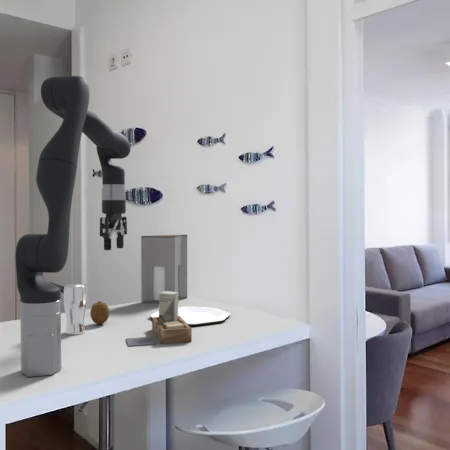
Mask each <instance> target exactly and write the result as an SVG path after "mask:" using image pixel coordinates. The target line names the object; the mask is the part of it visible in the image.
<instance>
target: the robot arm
mask: <svg viewBox="0 0 450 450" xmlns="http://www.w3.org/2000/svg"><path fill="white" fill-rule="evenodd" d="M88 83H89V82H87V79H86V78H84V77H83V76H80V75H62V76H52V77H48V78H46V79H44V81H43V82H42V83H41V86H40V95H41V96H40V97H41V99H42V102H43V105H44V106H45V107H46V109H47V110H49V111H50V112H51V113H53V114H54V115H56V116H58V117H59V118H61V119H62V123H61V125H59V128H58V130H57V131H55V133H54V134H53V136H52V137H51V139H49V141H48V142H47V144H46V145H45V146H44V148H42V151H41V152H40V154H39V158H38V164H37V170H36V176H35V181H36V186H37V189H38V192H39V193H40V196H41V197H42V198H41V199H42V200H43V202H44V205H45V207H46V211H47V215H48V227H47V233H41V234H40V233H29V234H25V235H23V236H21V237H20V238H19V239H18V241H17V244H16V247H15V253H14V254H15V255H14V257H15V270H16V271H15V272H16V287H17V291H18V295H19V298H20V299H19V300H20V301H19V302H20V304H19V305H20V317H19V318H20V373H21V374H22V375H24V376H25V377H26V378H29V377H40V376H41V377H42V376H51V375H52V376H53V375H55V374H56V373H57V372H59V371H61V369H62V316H61V315H62V300H61V299H62V298H61V297H62V295H61V294H62V293H61V292H62V291H61V288H60V287H59V286H57V285H55V284H54V283H52V282H50V281H48V280H47V279H46V278H45V276H44V274H43V273H50V274H51V273H52V274H54V273H59V272H61V271H62V270H63V269H64V267H65V266H66V264H67V260H68V256H69V255H68V254H69V244H70V225H71V224H70V223H71V222H70V221H71V209H72V202H73V194H74V189H75V181H76V176H77V168H78V159H79V151H80V145H81V139H82V134H84V136H86V137H87V138H88V139H89V141H91V142H92V144H94V146H95V147H96V153H97V157H98V159H99V163H100V167H101V175H102V176H101V177H102V182H101V183H102V188H101V213H102V214H103V215H105V217H99V236H100V237H102V239H103V250H104V251H111V250H112V236H113V234H114V233H115V235H116V249H123V248H124V246H125V245H124V240H125V239H124V237H125V236H126V235H127V234H128V223H127V222H128V219H127V216H123V215H125V214H126V212H127V211H126V210H127V208H126V207H127V201H126V195H127V194H126V193H127V192H126V187H125V185H126V184H125V183H126V181H125V180H126V179H125V178H126V177H125V173H126V172H125V169H124V167H122V166H119V165H114V164H113V162H112V159H113V160H118V159H119V160H121V159H125V158H127V157H128V156H129V154H130V153H131V149H132V148H131V144H130V143H131V142H129V139H128V138H127V137H126V136H125V135H124V134H123V133H120V132H119V131H117V130H115V129H114V128H112V127H111V126H110V125H109V124H108V123H107V121H105V120H104V119H103V118H102V117H101V116H99V115H98V114H96V113H94V112H92V111H90V110H88V108H89V103H90V87H89V84H88ZM122 214H123V215H122Z"/></svg>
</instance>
